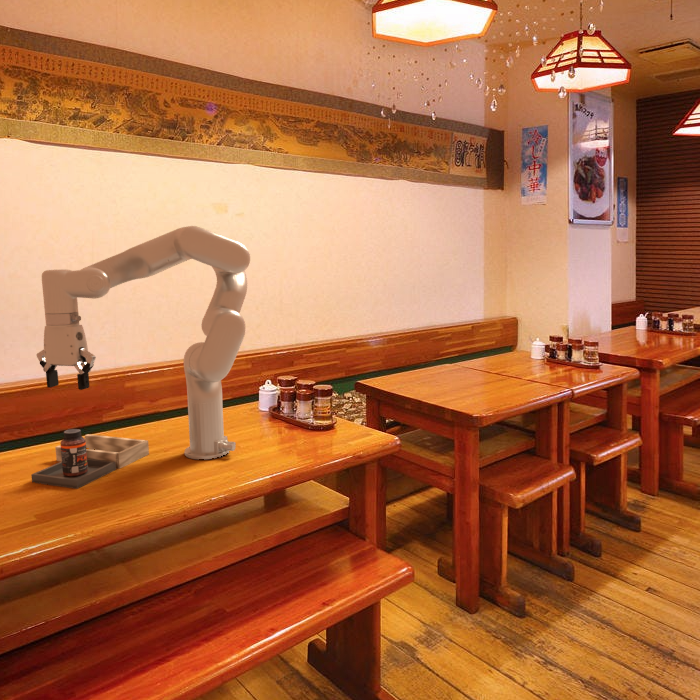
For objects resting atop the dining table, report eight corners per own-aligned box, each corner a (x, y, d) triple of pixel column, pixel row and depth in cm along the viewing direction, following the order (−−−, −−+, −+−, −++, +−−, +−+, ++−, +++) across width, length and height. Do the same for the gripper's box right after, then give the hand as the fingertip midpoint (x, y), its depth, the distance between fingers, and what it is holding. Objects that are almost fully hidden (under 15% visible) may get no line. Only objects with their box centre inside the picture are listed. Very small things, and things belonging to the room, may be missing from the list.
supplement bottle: (81, 477, 155) (78, 434, 154) (58, 477, 156) (54, 434, 154) (92, 469, 161) (88, 427, 160) (69, 469, 161) (65, 427, 160)
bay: (148, 454, 175) (148, 440, 174) (119, 468, 163) (118, 454, 163) (88, 447, 182) (87, 434, 181) (56, 460, 170) (55, 446, 169)
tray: (116, 469, 163) (115, 461, 162) (77, 488, 150) (76, 480, 149) (73, 464, 167) (72, 456, 167) (32, 482, 154) (31, 474, 154)
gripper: (101, 319, 153) (107, 386, 156) (46, 317, 158) (52, 382, 161) (79, 322, 146) (85, 393, 149) (22, 320, 151) (29, 388, 154)
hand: (68, 387), depth 155 cm, fingers open, 9 cm apart
